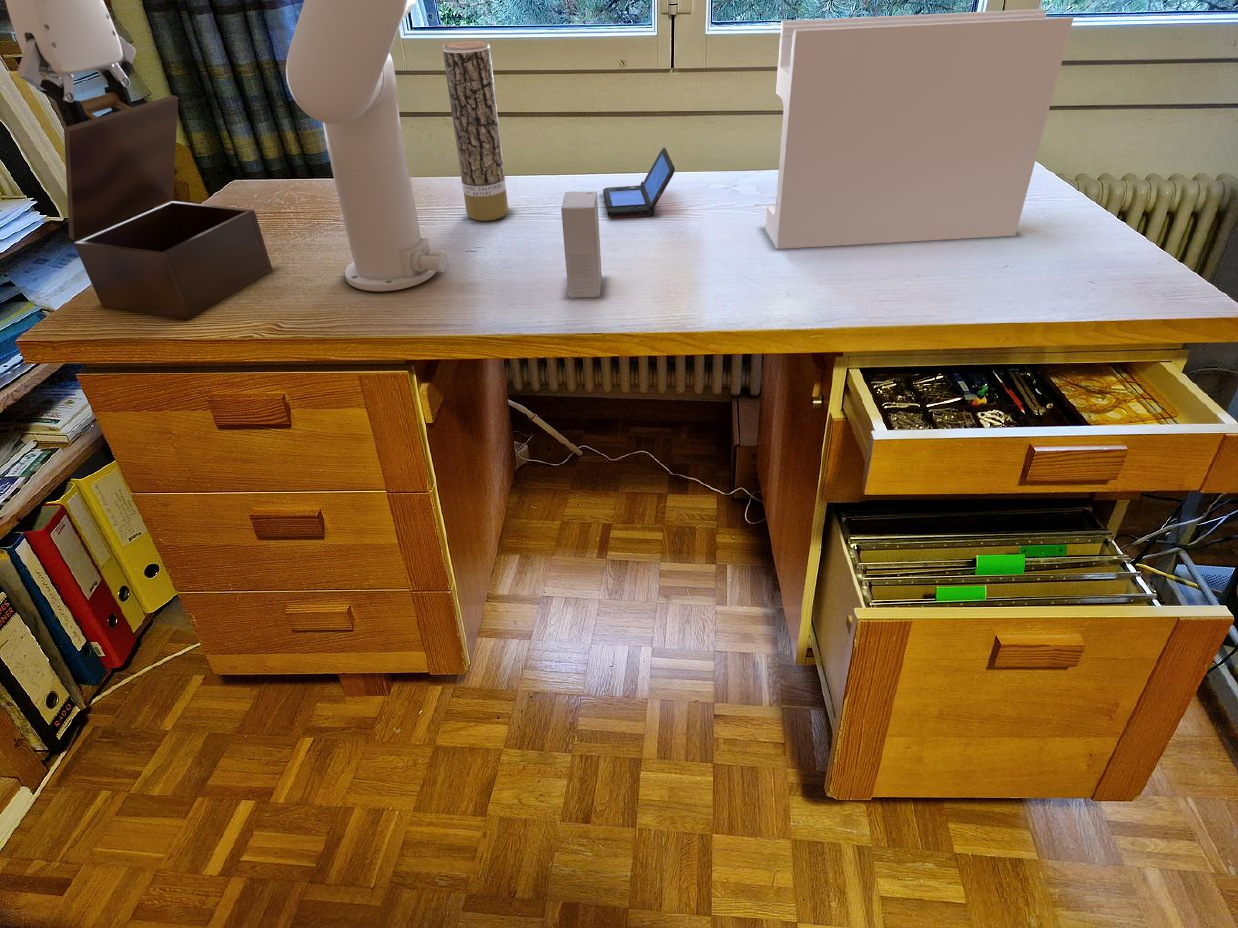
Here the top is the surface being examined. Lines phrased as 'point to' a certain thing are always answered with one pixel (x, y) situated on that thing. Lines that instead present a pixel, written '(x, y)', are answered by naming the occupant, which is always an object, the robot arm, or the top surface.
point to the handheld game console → (640, 191)
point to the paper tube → (476, 128)
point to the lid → (119, 162)
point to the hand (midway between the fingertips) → (104, 127)
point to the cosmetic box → (582, 244)
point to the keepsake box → (175, 259)
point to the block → (911, 125)
